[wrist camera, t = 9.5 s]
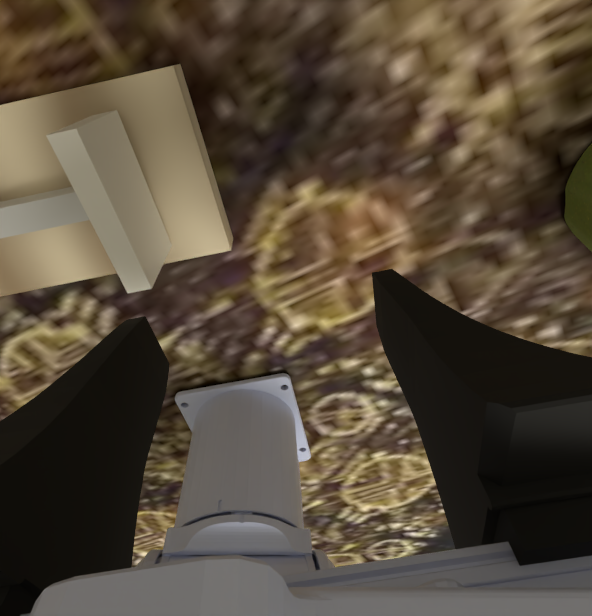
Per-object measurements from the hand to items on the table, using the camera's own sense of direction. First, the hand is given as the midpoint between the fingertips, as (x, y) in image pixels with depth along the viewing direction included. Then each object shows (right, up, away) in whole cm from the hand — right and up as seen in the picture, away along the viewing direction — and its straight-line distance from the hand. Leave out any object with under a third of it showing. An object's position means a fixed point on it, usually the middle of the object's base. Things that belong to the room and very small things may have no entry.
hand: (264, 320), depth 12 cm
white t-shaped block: (-10, +5, +5) cm, 12 cm away
